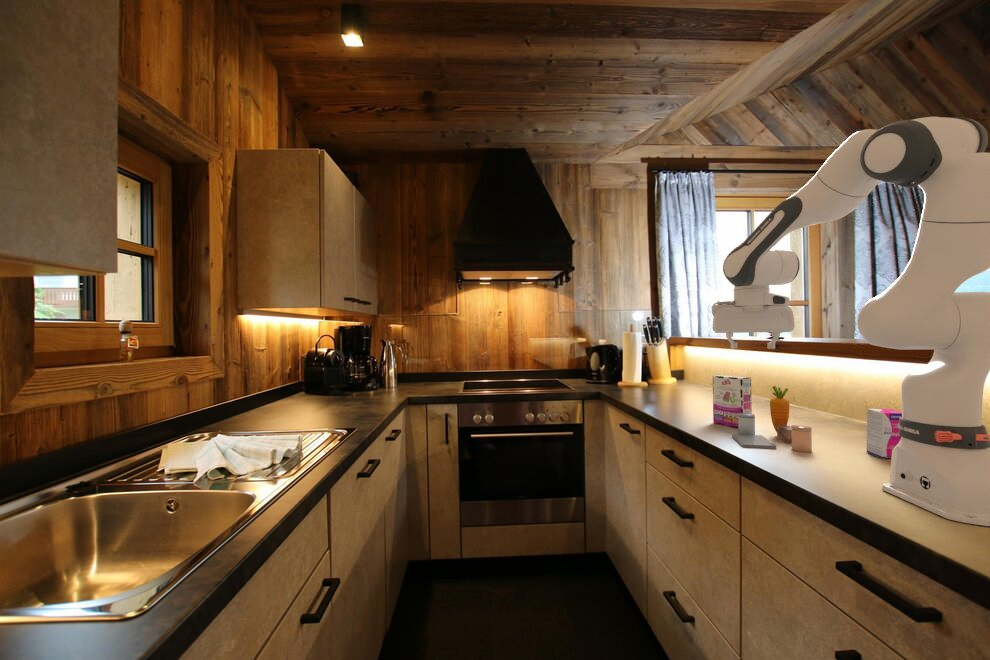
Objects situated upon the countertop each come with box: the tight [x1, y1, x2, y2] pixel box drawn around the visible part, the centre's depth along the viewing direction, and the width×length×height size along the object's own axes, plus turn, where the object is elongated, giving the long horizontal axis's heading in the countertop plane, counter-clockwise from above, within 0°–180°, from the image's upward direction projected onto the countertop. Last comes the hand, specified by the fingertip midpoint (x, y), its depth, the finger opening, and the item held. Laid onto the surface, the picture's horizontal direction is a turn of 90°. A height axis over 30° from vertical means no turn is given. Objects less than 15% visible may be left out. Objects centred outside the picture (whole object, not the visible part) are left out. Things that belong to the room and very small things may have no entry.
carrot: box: [769, 385, 790, 433], centre depth 135 cm, size 5×5×15 cm
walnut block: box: [776, 425, 792, 445], centre depth 129 cm, size 5×5×4 cm
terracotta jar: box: [791, 424, 813, 453], centre depth 120 cm, size 4×4×6 cm
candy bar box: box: [712, 374, 753, 429], centre depth 150 cm, size 11×5×16 cm, turn 25°
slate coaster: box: [731, 433, 777, 450], centre depth 128 cm, size 12×8×1 cm, turn 165°
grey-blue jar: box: [737, 413, 756, 435], centre depth 137 cm, size 4×4×6 cm
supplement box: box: [866, 408, 902, 459], centre depth 113 cm, size 6×6×12 cm
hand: (752, 348), depth 128 cm, fingers open, 8 cm apart
